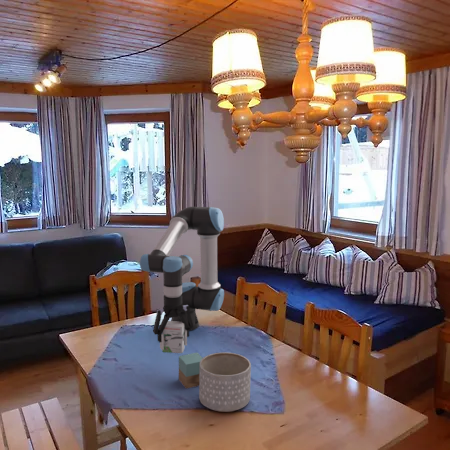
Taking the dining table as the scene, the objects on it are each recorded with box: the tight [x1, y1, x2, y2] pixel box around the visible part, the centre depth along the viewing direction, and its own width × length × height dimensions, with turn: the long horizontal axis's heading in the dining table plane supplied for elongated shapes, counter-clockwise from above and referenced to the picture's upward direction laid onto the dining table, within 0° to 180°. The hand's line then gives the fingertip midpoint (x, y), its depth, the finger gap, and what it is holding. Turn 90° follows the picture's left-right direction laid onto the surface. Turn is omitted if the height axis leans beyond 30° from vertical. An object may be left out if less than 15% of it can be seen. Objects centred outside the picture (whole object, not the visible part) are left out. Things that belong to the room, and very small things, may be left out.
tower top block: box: [178, 352, 203, 377], centre depth 167 cm, size 8×8×5 cm
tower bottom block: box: [178, 368, 199, 389], centre depth 168 cm, size 8×8×5 cm
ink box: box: [162, 320, 185, 354], centre depth 175 cm, size 9×5×12 cm, turn 84°
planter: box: [198, 351, 252, 413], centre depth 154 cm, size 19×19×14 cm
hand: (173, 346), depth 175 cm, fingers closed on ink box, 9 cm apart
